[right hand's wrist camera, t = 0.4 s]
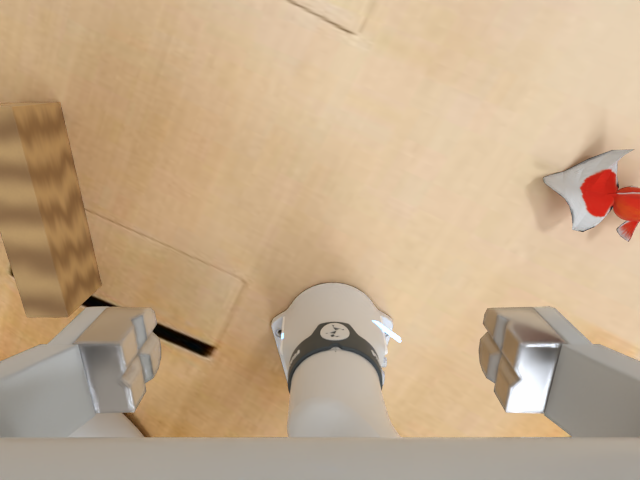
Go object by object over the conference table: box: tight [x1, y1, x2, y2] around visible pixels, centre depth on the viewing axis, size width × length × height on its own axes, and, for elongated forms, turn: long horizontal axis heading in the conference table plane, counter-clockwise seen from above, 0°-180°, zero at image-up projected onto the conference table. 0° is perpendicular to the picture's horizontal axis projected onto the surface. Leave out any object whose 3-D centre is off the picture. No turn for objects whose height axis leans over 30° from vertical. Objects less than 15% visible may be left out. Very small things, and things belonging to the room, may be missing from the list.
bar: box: [0, 102, 101, 317], centre depth 53 cm, size 26×5×9 cm, turn 0°
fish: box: [543, 149, 640, 242], centre depth 52 cm, size 11×16×10 cm
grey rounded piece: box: [68, 413, 144, 437], centre depth 65 cm, size 22×23×15 cm
